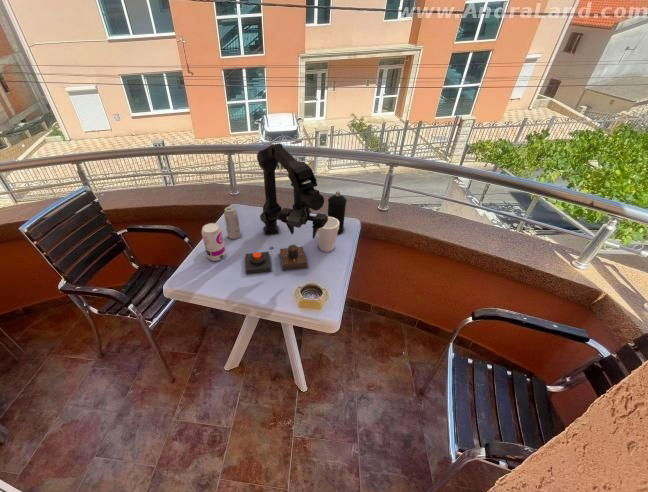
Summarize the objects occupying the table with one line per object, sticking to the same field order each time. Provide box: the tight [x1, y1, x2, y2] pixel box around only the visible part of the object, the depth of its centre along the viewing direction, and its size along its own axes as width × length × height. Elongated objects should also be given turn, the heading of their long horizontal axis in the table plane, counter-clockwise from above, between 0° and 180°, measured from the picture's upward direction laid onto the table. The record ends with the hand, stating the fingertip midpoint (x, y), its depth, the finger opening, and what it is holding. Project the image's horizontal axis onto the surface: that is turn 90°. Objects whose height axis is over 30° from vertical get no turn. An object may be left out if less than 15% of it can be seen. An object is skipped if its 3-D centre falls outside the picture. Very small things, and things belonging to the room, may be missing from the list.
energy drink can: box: [223, 205, 241, 240], centre depth 148 cm, size 6×6×15 cm
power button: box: [253, 251, 262, 260], centre depth 133 cm, size 4×4×2 cm
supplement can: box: [200, 222, 227, 262], centre depth 137 cm, size 8×8×15 cm
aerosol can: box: [327, 190, 348, 235], centre depth 146 cm, size 8×8×20 cm
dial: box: [287, 244, 299, 258], centre depth 133 cm, size 4×4×4 cm
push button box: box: [245, 251, 272, 275], centre depth 134 cm, size 11×10×4 cm
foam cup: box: [317, 217, 339, 253], centre depth 138 cm, size 10×9×13 cm
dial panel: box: [279, 246, 308, 271], centre depth 135 cm, size 11×10×3 cm
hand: (303, 236), depth 127 cm, fingers open, 9 cm apart
